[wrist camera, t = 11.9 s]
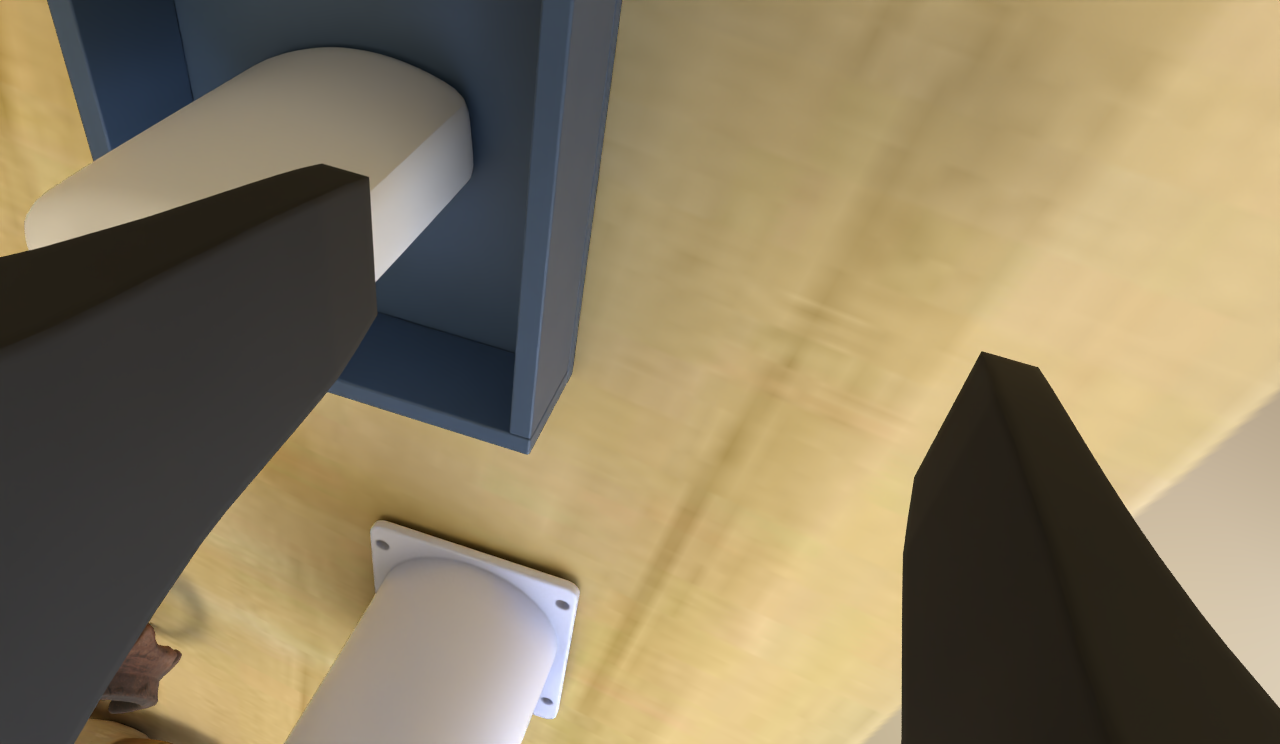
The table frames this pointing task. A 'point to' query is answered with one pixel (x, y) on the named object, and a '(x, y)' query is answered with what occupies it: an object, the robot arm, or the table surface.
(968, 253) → the table surface
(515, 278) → the tray
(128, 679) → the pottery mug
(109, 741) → the ceramic sculpture
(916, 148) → the table surface
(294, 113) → the eye dropper bottle
